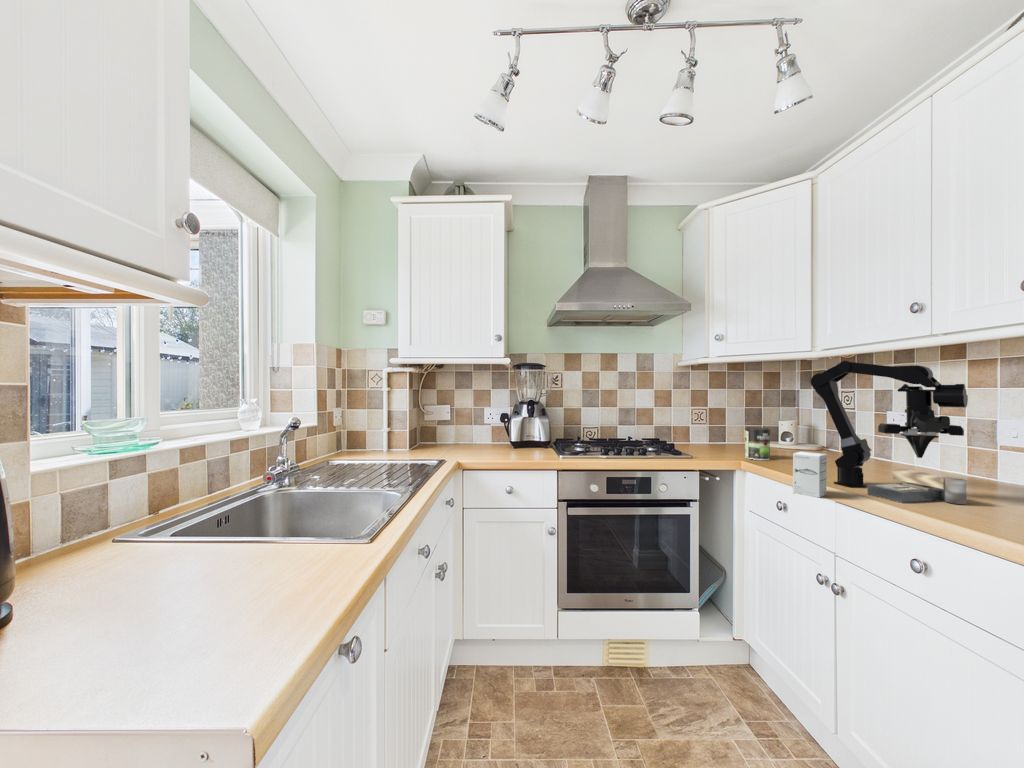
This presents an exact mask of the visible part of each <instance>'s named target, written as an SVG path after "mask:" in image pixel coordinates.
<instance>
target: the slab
mask: <svg viewBox="0 0 1024 768" xmlns="http://www.w3.org/2000/svg"><path fill="white" fill-rule="evenodd" d="M867 495H868V496H871V495H872V496H871V497H875V496H876V497H875V498H879V497H881V498H880V499H883V498H885V499H884V500H887V499H889V501H892V500H894V501H893V502H896V501H898V502H897V503H900V502H901V504H907V503H906V502H911V503H920V502H919V501H928V502H934V501H933V500H944V501H945V489H941V488H936V487H930V486H925V485H920V484H915V483H910V482H899V483H898V482H897V483H880V484H867Z"/></svg>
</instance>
